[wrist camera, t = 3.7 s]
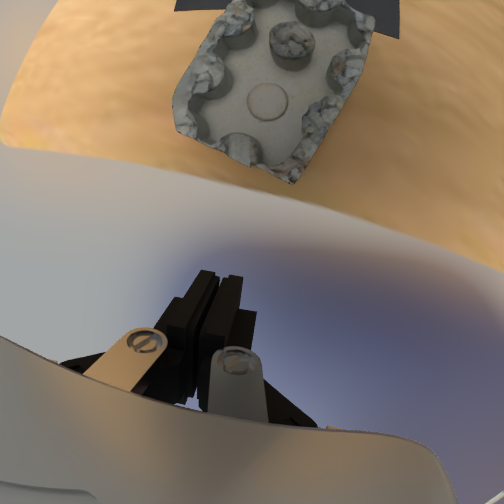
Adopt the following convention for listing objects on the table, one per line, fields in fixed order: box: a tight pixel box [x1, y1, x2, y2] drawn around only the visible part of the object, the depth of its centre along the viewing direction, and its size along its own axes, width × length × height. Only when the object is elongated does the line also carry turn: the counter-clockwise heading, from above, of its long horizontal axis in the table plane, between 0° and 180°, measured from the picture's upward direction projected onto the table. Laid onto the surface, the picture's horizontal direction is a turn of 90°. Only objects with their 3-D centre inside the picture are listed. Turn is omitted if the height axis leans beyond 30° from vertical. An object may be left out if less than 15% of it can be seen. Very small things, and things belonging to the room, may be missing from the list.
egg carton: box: [172, 0, 375, 185], centre depth 12 cm, size 11×8×4 cm
